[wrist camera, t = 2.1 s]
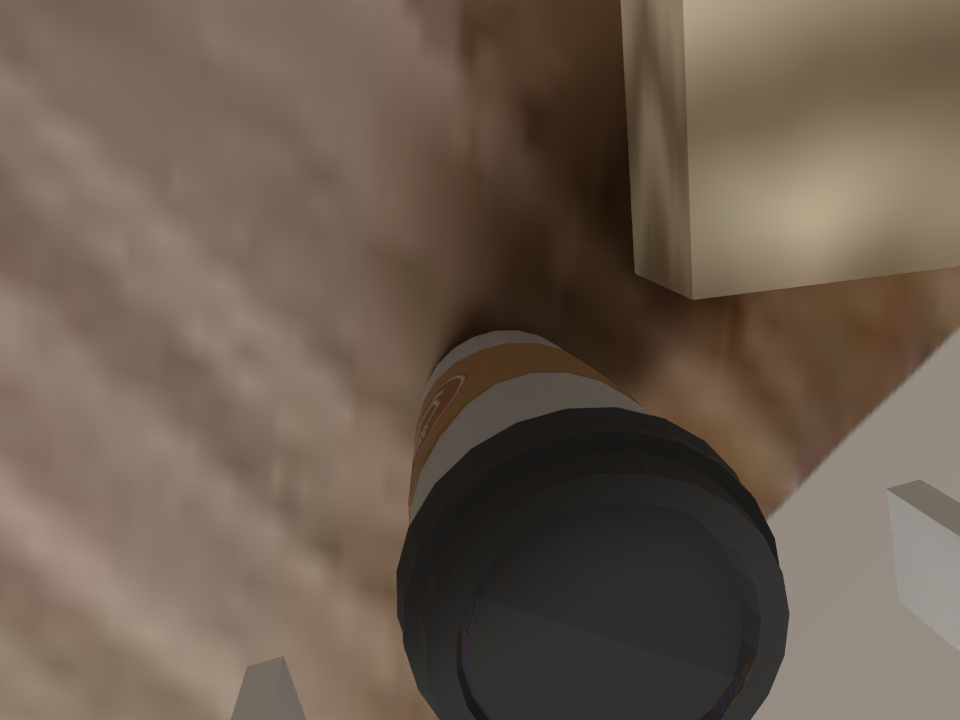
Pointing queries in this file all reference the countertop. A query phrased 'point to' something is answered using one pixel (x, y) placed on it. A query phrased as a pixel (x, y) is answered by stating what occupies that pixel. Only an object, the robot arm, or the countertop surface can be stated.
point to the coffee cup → (578, 551)
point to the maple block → (791, 140)
